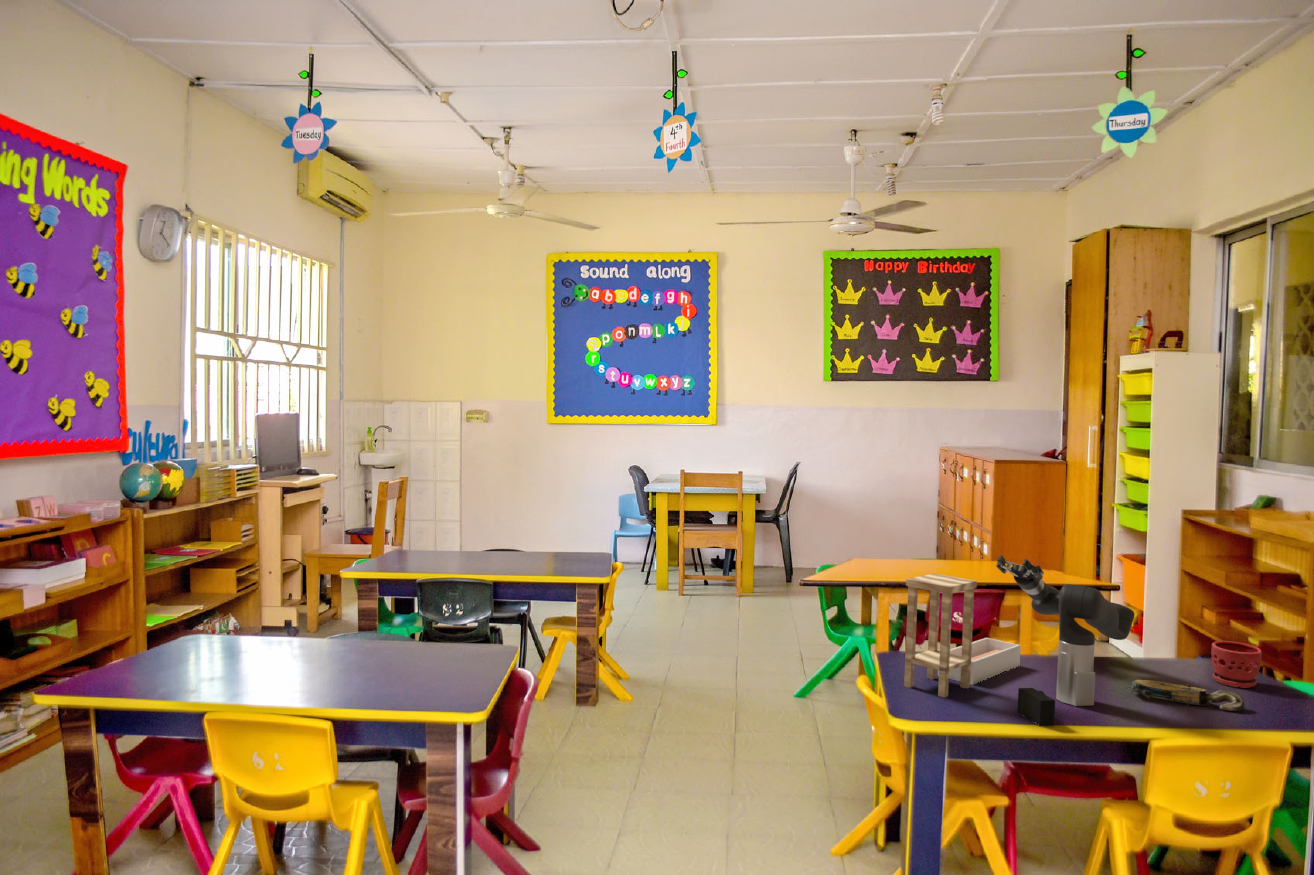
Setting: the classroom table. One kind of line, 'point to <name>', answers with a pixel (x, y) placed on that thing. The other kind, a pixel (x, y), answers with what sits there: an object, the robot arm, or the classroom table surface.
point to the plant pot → (1235, 663)
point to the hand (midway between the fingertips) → (1012, 559)
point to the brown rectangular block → (985, 654)
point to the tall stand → (943, 657)
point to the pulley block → (1187, 694)
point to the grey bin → (988, 659)
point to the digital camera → (1036, 706)
